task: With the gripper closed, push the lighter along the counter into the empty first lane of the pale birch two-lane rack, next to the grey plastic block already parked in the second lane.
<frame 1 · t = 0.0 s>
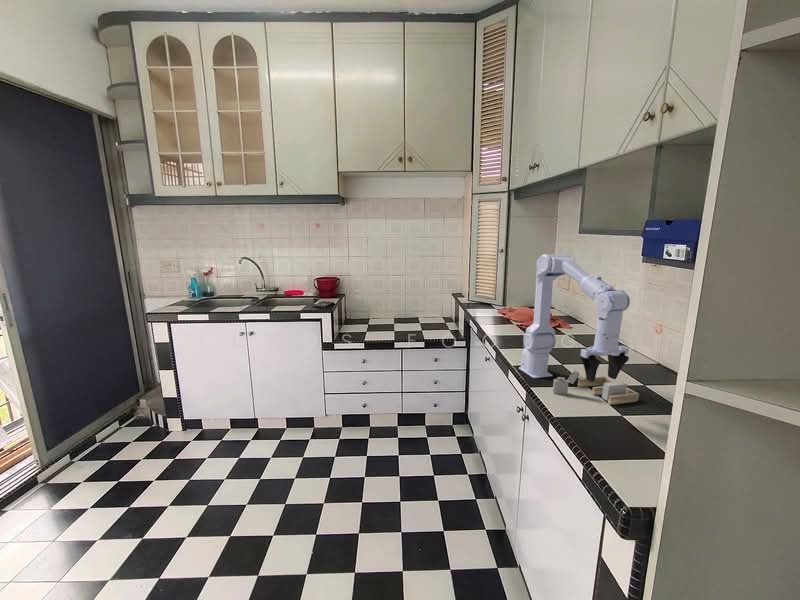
hand: (601, 379, 99), 10 cm above the countertop, fingers open, 7 cm apart
rack: (605, 393, 112), on the countertop
grey block: (613, 398, 109), resting in rack
lighter: (564, 394, 112), on the countertop
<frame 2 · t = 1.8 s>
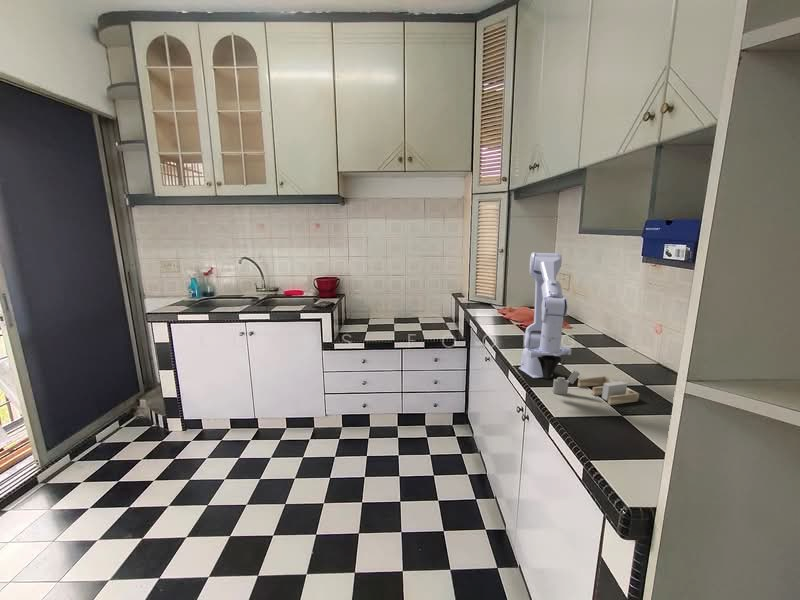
hand: (546, 377, 109), 6 cm above the countertop, fingers closed
nothing on the countertop moved.
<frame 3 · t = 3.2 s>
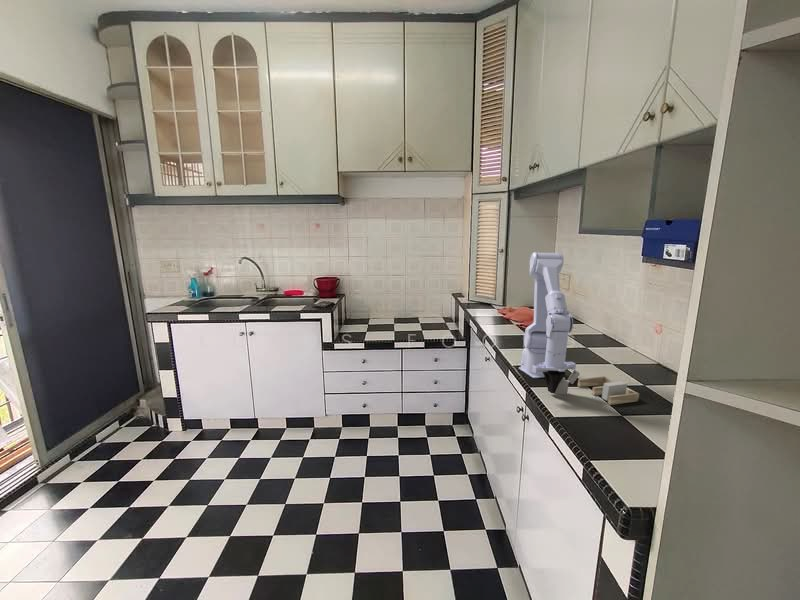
hand: (551, 391, 110), 1 cm above the countertop, fingers closed
lighter: (564, 393, 112), on the countertop, touching gripper
everything else where it was.
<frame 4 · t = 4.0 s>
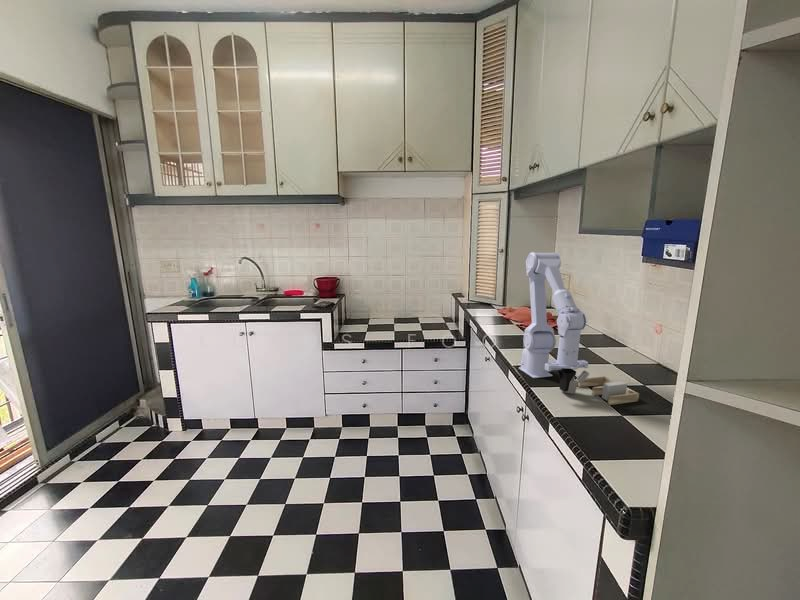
hand: (563, 390, 111), 2 cm above the countertop, fingers closed, pressing on lighter
lighter: (572, 393, 113), on the countertop, touching gripper
everything else where it was.
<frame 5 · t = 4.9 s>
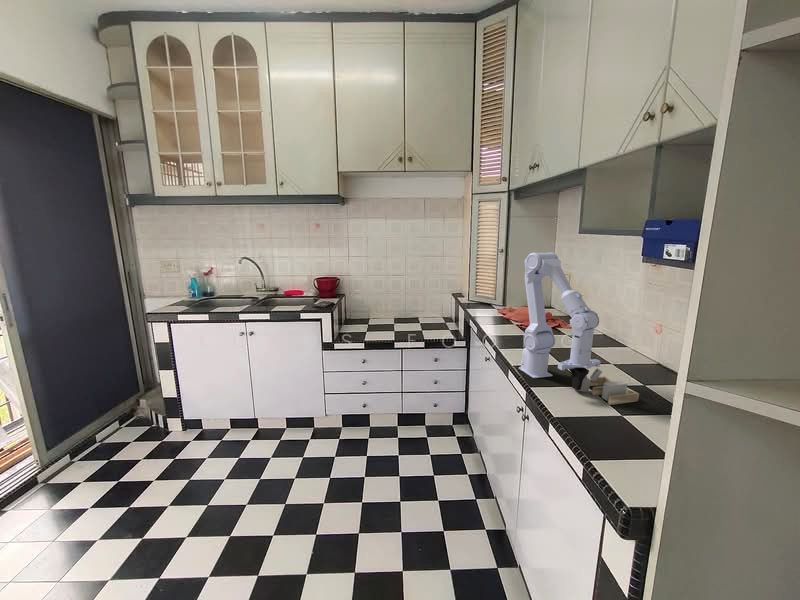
hand: (576, 388, 113), 1 cm above the countertop, fingers closed, pressing on lighter
lighter: (585, 391, 114), on the countertop, touching gripper
everything else where it was.
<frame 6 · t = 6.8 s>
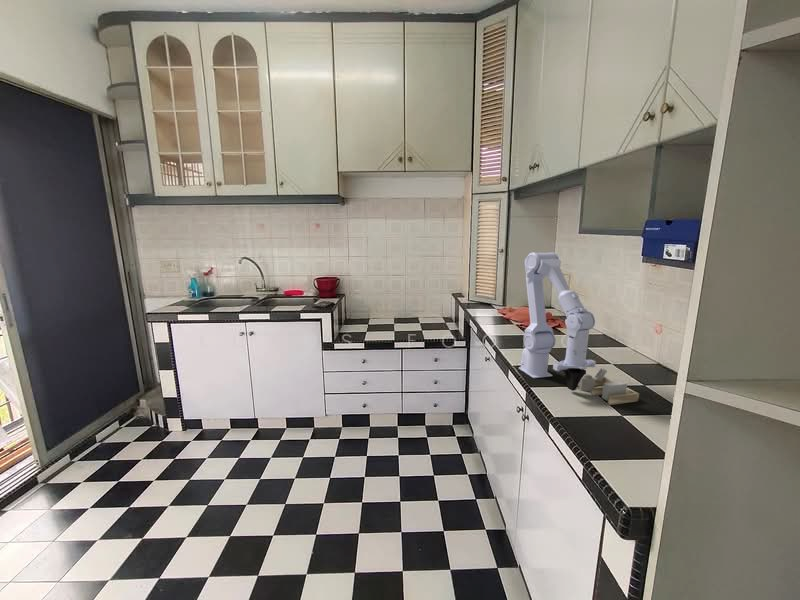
hand: (571, 389, 112), 1 cm above the countertop, fingers closed
lighter: (591, 390, 114), on the countertop
everything else where it was.
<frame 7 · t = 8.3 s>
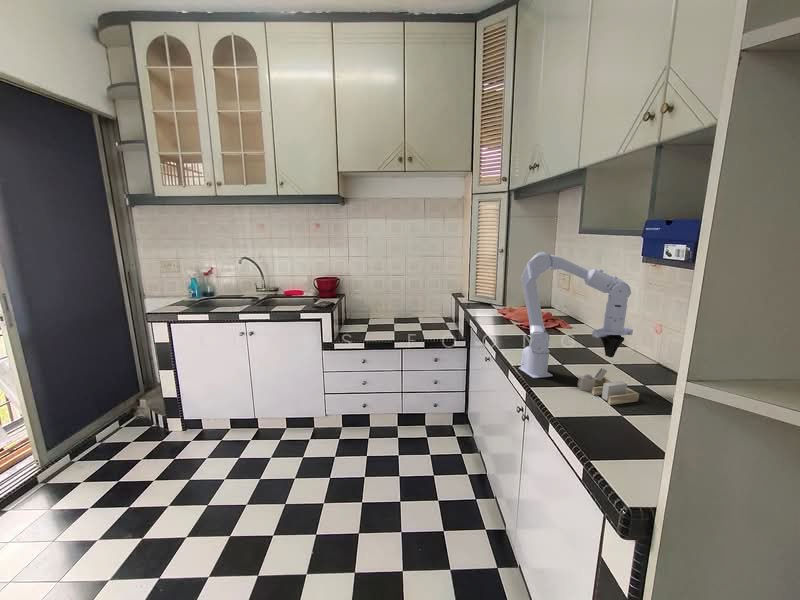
hand: (609, 356, 116), 10 cm above the countertop, fingers closed
nothing on the countertop moved.
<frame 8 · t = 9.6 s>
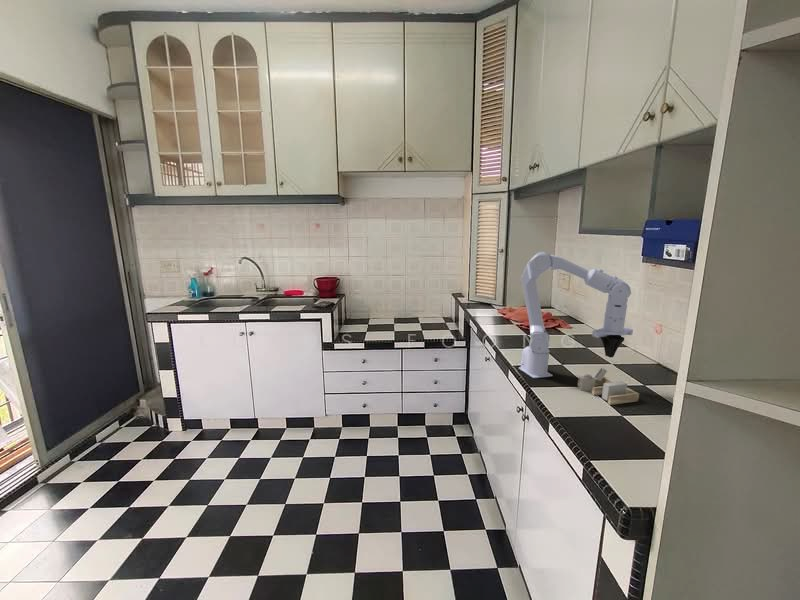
hand: (609, 356, 116), 10 cm above the countertop, fingers closed
nothing on the countertop moved.
at the end: lighter inside the target area (2.5 cm from its centre), on the countertop; lighter tilted 0°; grey block moved 0.1 cm from its start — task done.
